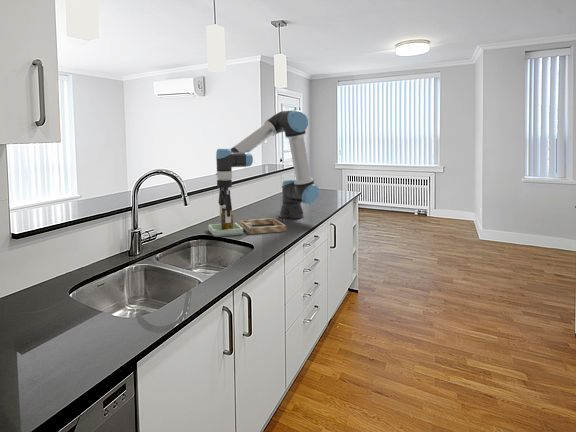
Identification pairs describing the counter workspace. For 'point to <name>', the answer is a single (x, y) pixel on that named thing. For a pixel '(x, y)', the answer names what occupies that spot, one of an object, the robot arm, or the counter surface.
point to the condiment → (223, 224)
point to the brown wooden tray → (263, 229)
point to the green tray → (235, 231)
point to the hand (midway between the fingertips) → (225, 220)
